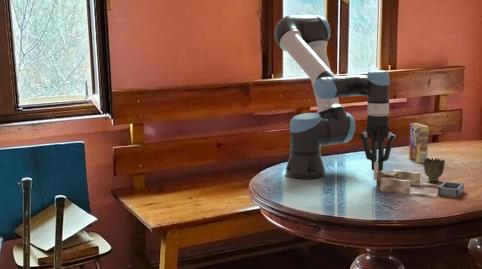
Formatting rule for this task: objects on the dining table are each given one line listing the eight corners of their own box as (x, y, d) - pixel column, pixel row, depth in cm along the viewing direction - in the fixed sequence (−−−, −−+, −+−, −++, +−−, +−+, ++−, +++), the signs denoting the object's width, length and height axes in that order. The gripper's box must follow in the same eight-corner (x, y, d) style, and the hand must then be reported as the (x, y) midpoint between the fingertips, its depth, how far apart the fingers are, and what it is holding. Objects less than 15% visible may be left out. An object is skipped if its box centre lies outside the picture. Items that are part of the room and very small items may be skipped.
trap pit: (437, 195, 211) (438, 187, 210) (444, 189, 218) (444, 181, 218) (457, 198, 208) (458, 189, 207) (463, 191, 215) (463, 183, 215)
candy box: (428, 162, 258) (429, 126, 255) (418, 163, 257) (419, 126, 254) (417, 158, 266) (418, 122, 263) (408, 158, 265) (409, 123, 262)
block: (376, 187, 223) (376, 173, 222) (382, 183, 228) (382, 169, 227) (392, 189, 220) (393, 175, 219) (398, 185, 225) (398, 171, 224)
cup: (441, 184, 224) (441, 163, 223) (420, 182, 228) (421, 160, 226) (446, 180, 230) (447, 158, 229) (426, 177, 234) (427, 156, 233)
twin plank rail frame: (380, 190, 218) (380, 178, 217) (392, 181, 230) (393, 169, 229) (435, 197, 208) (436, 184, 208) (445, 187, 220) (446, 175, 219)
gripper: (356, 114, 221) (356, 179, 225) (392, 117, 214) (391, 183, 219) (364, 112, 227) (363, 175, 232) (399, 114, 221) (398, 178, 225)
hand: (377, 179), depth 225 cm, fingers closed
